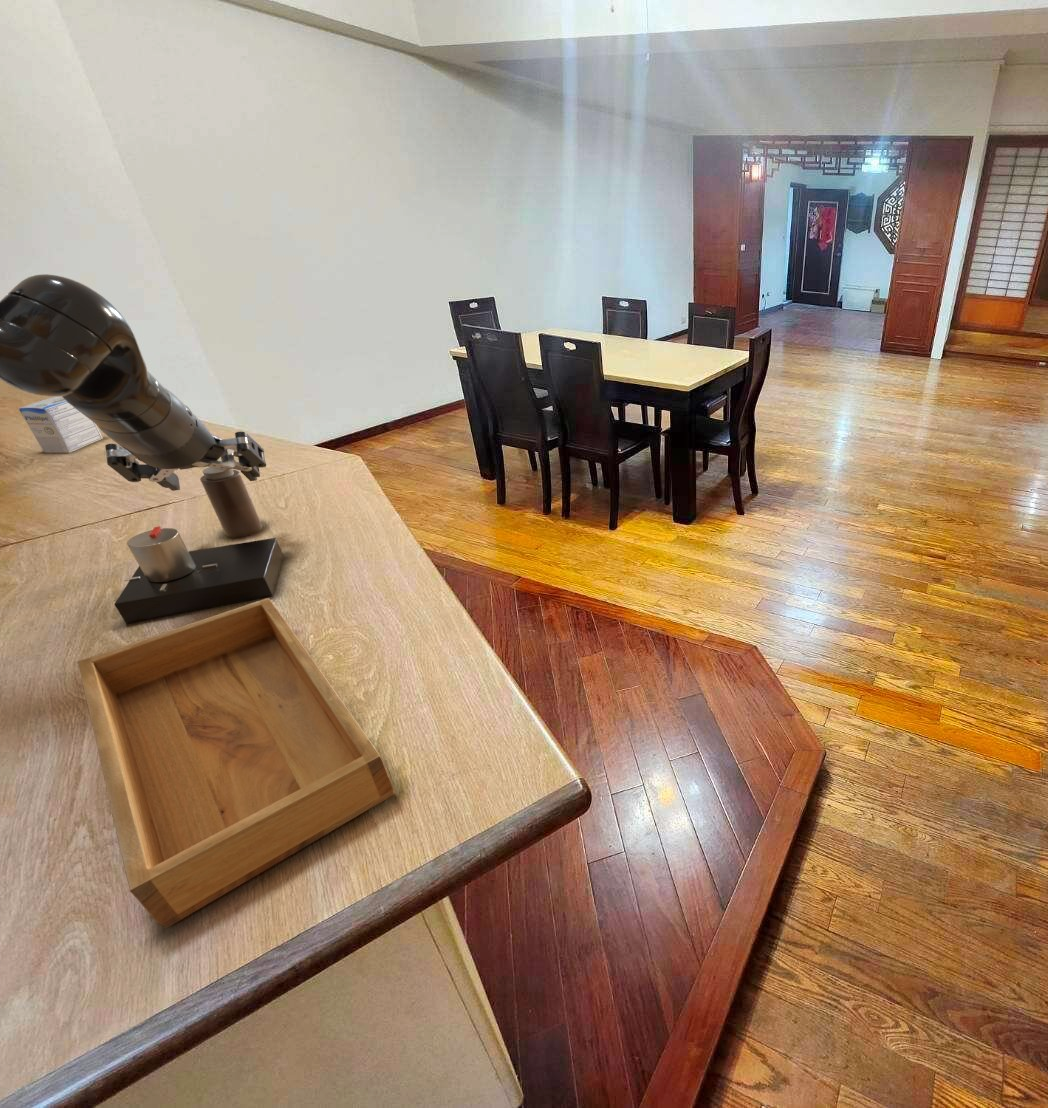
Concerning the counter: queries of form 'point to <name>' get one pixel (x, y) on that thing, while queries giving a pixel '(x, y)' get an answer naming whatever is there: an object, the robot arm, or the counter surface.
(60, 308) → the robot arm
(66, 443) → the medicine box
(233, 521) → the pepper mill
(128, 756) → the tray
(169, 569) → the stove knob
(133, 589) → the stove panel
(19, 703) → the counter surface
